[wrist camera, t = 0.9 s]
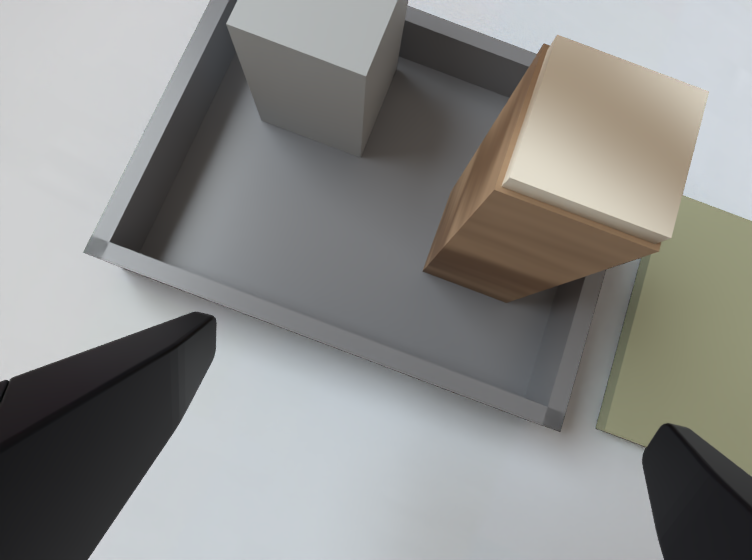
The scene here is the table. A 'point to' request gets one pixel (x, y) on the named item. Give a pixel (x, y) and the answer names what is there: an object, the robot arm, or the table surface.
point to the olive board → (689, 338)
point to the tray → (345, 219)
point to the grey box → (319, 63)
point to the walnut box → (570, 175)
